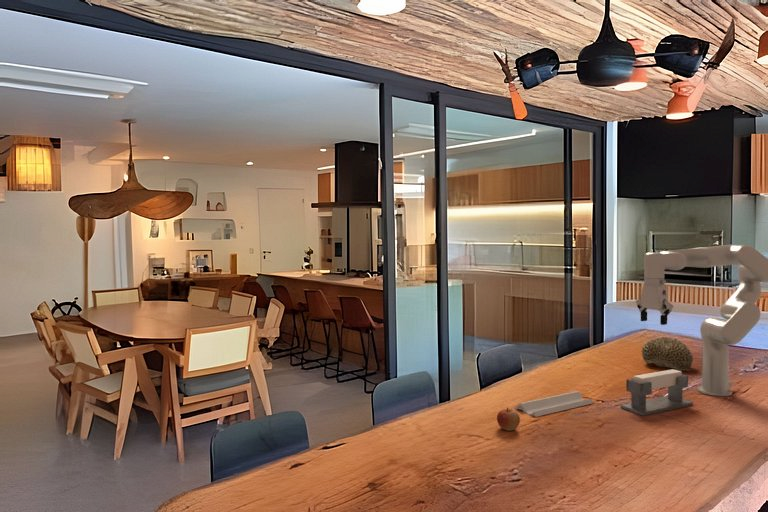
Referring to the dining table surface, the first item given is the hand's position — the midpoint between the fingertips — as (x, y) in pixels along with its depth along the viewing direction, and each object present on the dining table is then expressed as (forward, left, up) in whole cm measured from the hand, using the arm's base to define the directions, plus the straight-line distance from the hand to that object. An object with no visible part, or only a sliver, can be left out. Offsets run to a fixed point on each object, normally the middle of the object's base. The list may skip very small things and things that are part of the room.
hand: (653, 322), depth 231 cm
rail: (+12, +12, -22) cm, 28 cm away
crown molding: (+47, -6, -31) cm, 57 cm away
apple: (+79, +6, -31) cm, 85 cm away
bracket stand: (+12, +12, -30) cm, 35 cm away
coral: (-45, -28, -31) cm, 61 cm away
